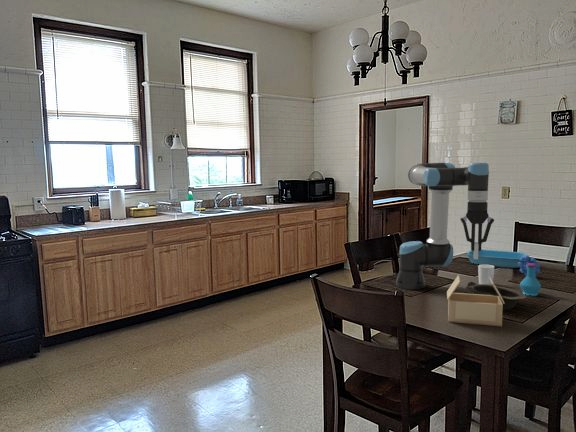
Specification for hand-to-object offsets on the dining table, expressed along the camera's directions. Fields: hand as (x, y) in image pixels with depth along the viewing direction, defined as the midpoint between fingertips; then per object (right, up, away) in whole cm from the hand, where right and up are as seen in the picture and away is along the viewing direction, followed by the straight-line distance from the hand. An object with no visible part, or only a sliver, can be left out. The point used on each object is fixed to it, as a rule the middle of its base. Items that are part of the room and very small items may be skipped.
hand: (475, 258), depth 189 cm
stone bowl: (+18, -23, +22) cm, 37 cm away
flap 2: (+8, -13, -1) cm, 15 cm away
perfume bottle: (+42, -21, +38) cm, 61 cm away
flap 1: (-8, -12, +4) cm, 15 cm away
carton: (0, -26, +3) cm, 26 cm away
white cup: (+28, -19, +56) cm, 66 cm away
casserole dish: (+55, -13, +104) cm, 119 cm away
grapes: (+58, -17, +70) cm, 92 cm away
